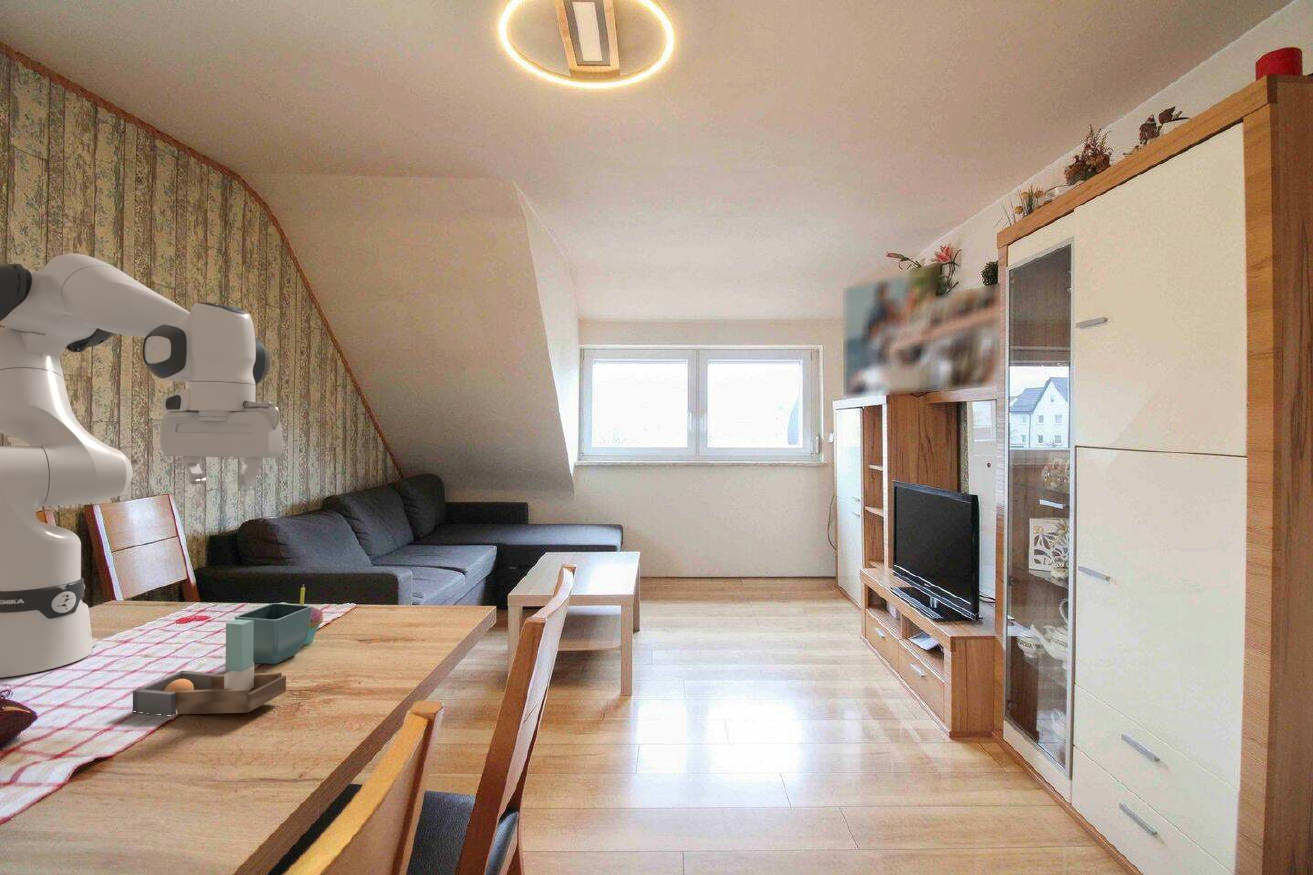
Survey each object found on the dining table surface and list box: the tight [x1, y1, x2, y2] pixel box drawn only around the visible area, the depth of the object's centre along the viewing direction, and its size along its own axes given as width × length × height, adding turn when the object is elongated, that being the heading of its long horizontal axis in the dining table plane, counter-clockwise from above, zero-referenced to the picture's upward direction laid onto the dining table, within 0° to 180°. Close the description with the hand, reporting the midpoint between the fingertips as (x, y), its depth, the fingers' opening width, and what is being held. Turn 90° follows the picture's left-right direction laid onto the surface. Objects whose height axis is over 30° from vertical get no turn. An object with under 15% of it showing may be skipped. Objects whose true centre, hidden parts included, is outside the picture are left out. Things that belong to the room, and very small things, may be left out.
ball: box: [164, 679, 194, 692], centre depth 89 cm, size 4×4×4 cm
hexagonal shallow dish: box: [175, 672, 287, 715], centre depth 88 cm, size 13×6×4 cm, turn 81°
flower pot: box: [234, 602, 313, 665], centre depth 107 cm, size 9×9×9 cm
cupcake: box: [299, 584, 324, 646], centre depth 115 cm, size 9×8×12 cm
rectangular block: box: [223, 619, 255, 689], centre depth 87 cm, size 3×4×11 cm, turn 171°
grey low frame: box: [132, 670, 219, 716], centre depth 89 cm, size 7×8×3 cm
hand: (222, 484), depth 96 cm, fingers open, 8 cm apart
